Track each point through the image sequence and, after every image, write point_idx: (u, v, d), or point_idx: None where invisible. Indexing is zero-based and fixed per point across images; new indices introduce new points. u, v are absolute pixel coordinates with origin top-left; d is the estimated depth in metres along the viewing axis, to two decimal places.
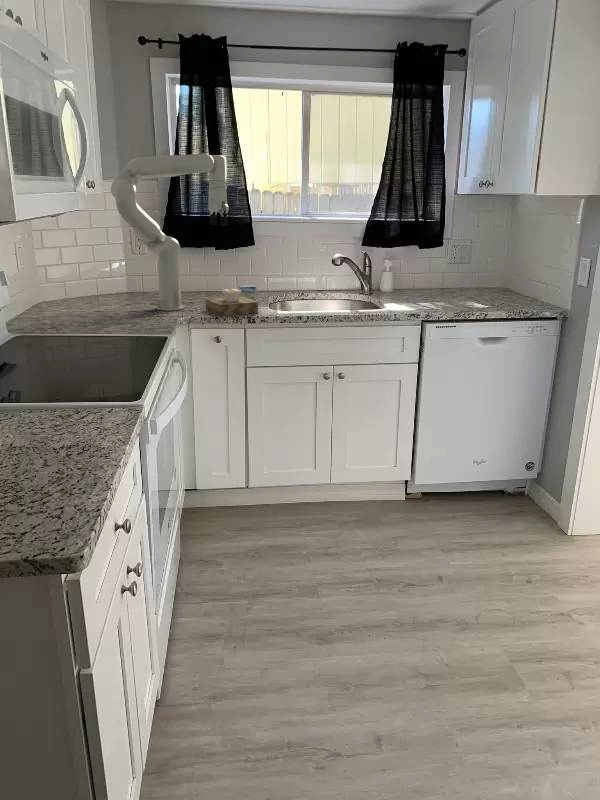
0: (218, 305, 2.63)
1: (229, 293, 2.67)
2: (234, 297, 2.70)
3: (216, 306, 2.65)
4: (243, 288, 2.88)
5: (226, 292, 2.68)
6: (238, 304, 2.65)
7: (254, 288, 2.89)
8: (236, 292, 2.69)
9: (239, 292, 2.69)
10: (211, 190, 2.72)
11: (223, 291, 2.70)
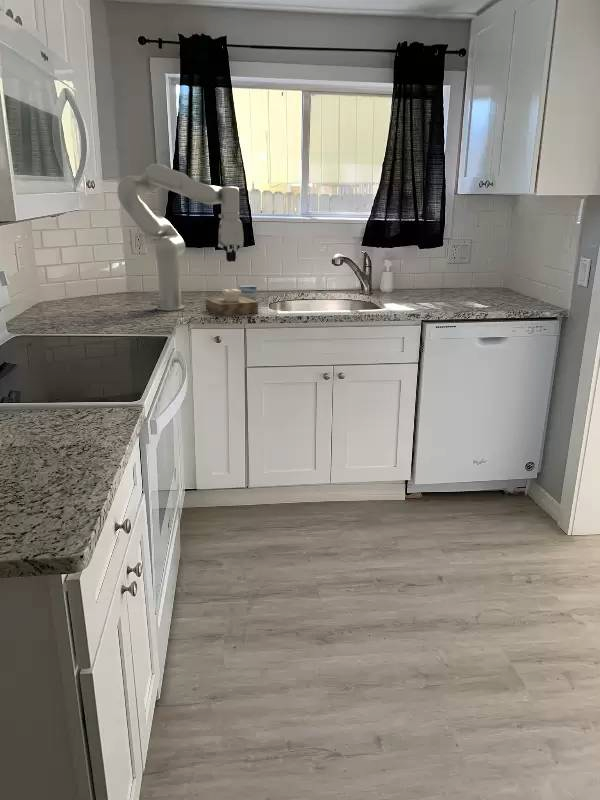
0: (218, 305, 2.63)
1: (229, 293, 2.67)
2: (234, 297, 2.70)
3: (216, 306, 2.65)
4: (243, 288, 2.88)
5: (226, 292, 2.68)
6: (238, 304, 2.65)
7: (254, 288, 2.89)
8: (236, 292, 2.69)
9: (239, 292, 2.69)
10: (230, 222, 2.59)
11: (223, 291, 2.70)
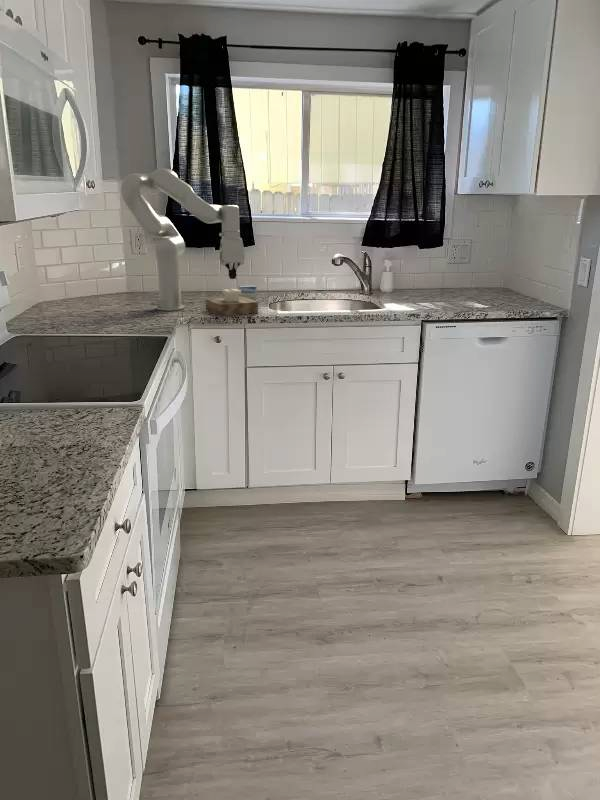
0: (218, 305, 2.63)
1: (229, 293, 2.67)
2: (234, 297, 2.70)
3: (216, 306, 2.65)
4: (243, 288, 2.88)
5: (226, 292, 2.68)
6: (238, 304, 2.65)
7: (254, 288, 2.89)
8: (236, 292, 2.69)
9: (239, 292, 2.69)
10: (231, 241, 2.61)
11: (223, 291, 2.70)
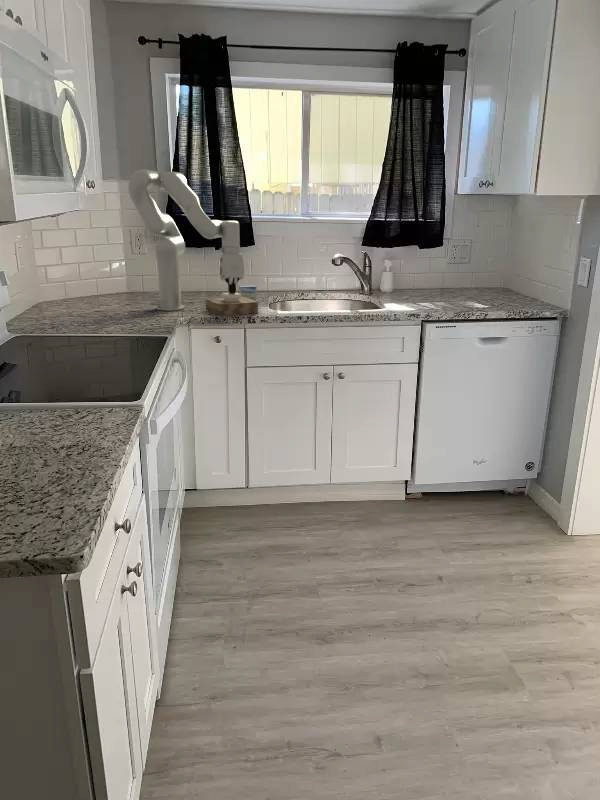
0: (218, 305, 2.63)
1: (229, 297, 2.68)
2: None
3: (216, 306, 2.65)
4: (243, 288, 2.88)
5: (226, 296, 2.68)
6: (238, 304, 2.65)
7: (254, 288, 2.89)
8: (236, 296, 2.69)
9: (239, 296, 2.70)
10: (231, 256, 2.63)
11: (223, 295, 2.71)
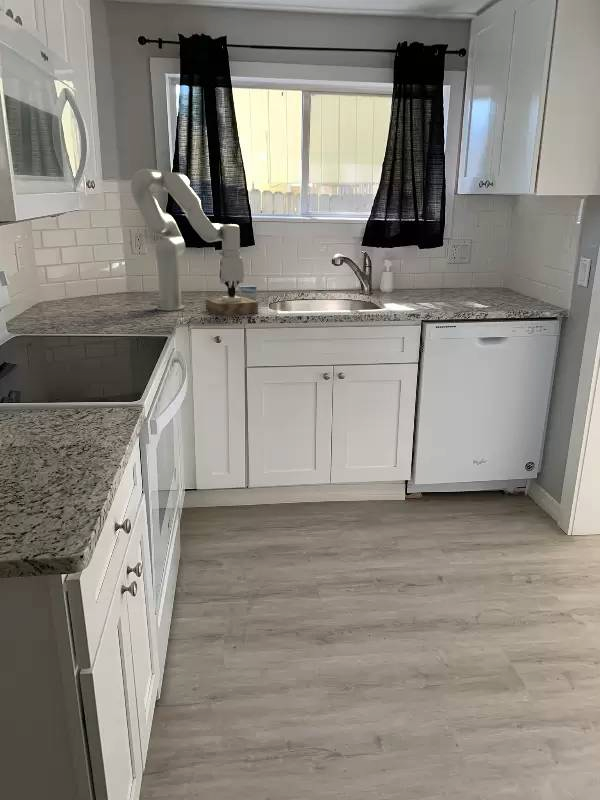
0: (218, 305, 2.63)
1: (229, 300, 2.68)
2: None
3: (216, 306, 2.65)
4: (243, 288, 2.88)
5: (226, 299, 2.69)
6: (238, 304, 2.65)
7: (254, 288, 2.89)
8: (236, 299, 2.70)
9: (239, 299, 2.70)
10: (231, 259, 2.64)
11: (223, 298, 2.71)
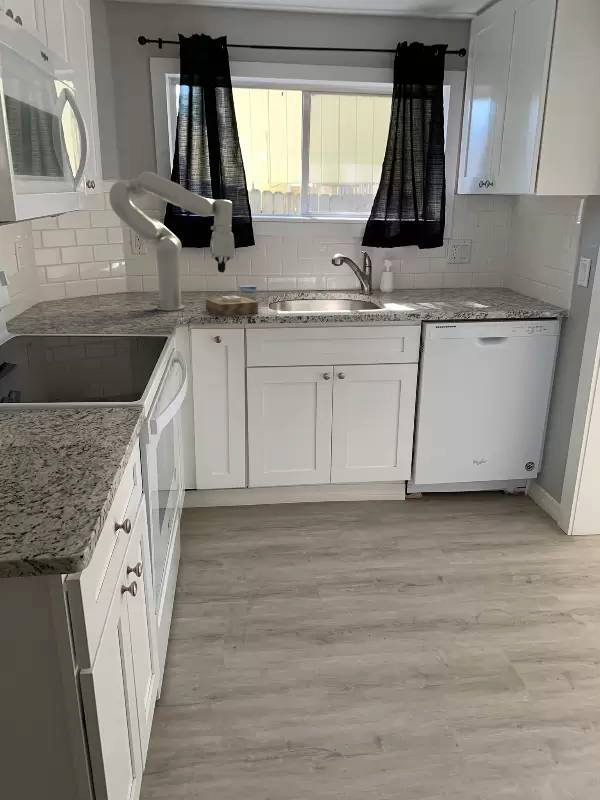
0: (218, 305, 2.63)
1: (229, 300, 2.68)
2: None
3: (216, 306, 2.65)
4: (243, 288, 2.88)
5: (226, 299, 2.69)
6: (238, 304, 2.65)
7: (254, 288, 2.89)
8: (236, 299, 2.70)
9: (239, 299, 2.70)
10: (222, 235, 2.66)
11: (223, 298, 2.71)
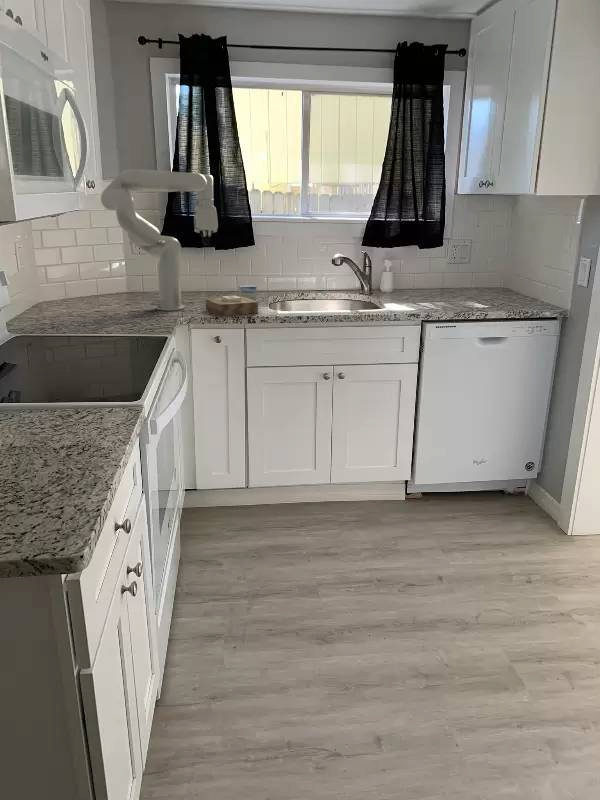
0: (218, 305, 2.63)
1: (229, 300, 2.68)
2: None
3: (216, 306, 2.65)
4: (243, 288, 2.88)
5: (226, 299, 2.69)
6: (238, 304, 2.65)
7: (254, 288, 2.89)
8: (236, 299, 2.70)
9: (239, 299, 2.70)
10: (205, 208, 2.75)
11: (223, 298, 2.71)
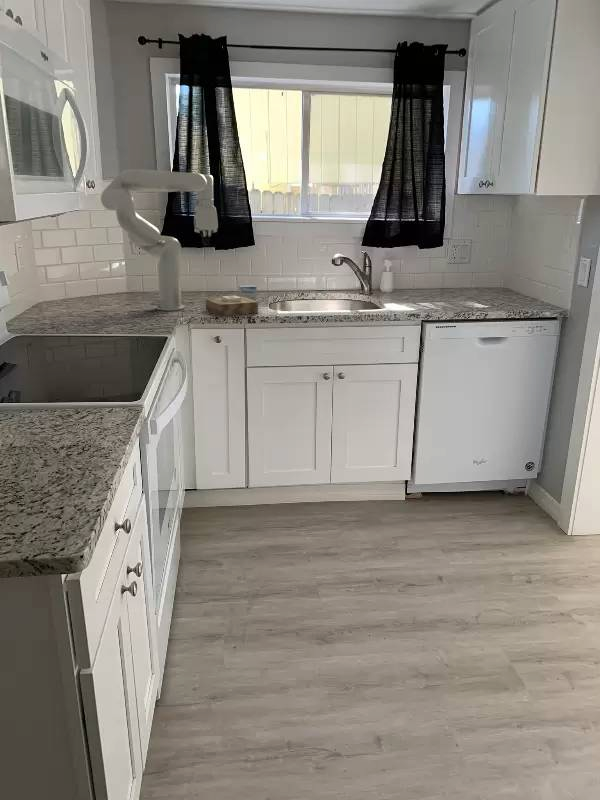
0: (218, 305, 2.63)
1: (229, 300, 2.68)
2: None
3: (216, 306, 2.65)
4: (243, 288, 2.88)
5: (226, 299, 2.69)
6: (238, 304, 2.65)
7: (254, 288, 2.89)
8: (236, 299, 2.70)
9: (239, 299, 2.70)
10: (205, 208, 2.75)
11: (223, 298, 2.71)
